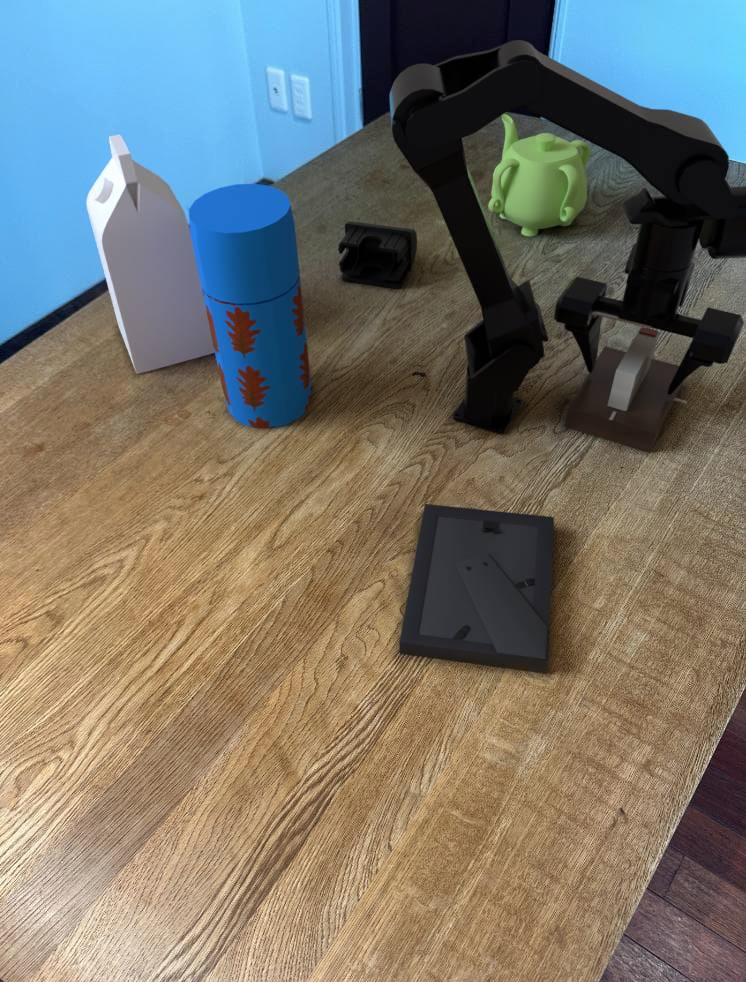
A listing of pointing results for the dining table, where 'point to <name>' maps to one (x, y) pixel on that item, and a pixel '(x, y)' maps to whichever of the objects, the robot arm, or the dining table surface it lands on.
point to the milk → (148, 264)
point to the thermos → (253, 301)
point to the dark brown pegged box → (643, 412)
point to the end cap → (377, 254)
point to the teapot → (539, 180)
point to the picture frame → (481, 588)
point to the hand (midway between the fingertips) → (629, 381)
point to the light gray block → (633, 368)
